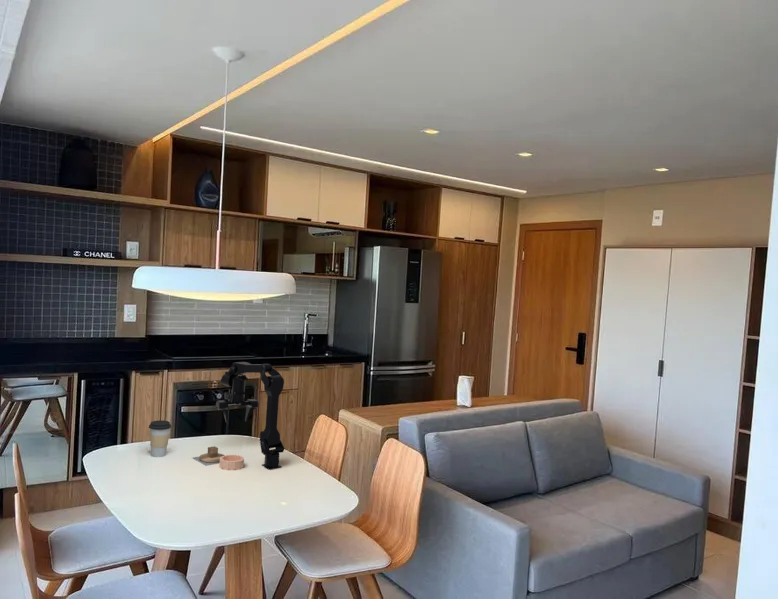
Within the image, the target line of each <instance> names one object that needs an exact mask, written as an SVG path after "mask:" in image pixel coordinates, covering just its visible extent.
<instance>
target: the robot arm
mask: <svg viewBox="0 0 778 599" xmlns="http://www.w3.org/2000/svg"><path fill="white" fill-rule="evenodd" d="M224 372H225V373H224V374H223V375H222V377H221V378H220V382H221V383H220V384H222V385H223V386H226V387H230V388H232V389H231V391H230V392H229V391H225V392H224V394H223V395H224V397H223V398H224V399H223V400H220V399H219V400H216V403H215V408H217V409H219V410H220V411H222V413H223V417H224V420H225V423H226V424H228V421H229V408H228V407H237V406H239V407H240V406H245V409H246V410H245V416H244V418H245V419H244V421H245V422H248V420H249V418H250V416H251V414H252V413H253V411H254V409H255V410H256V408H259V404H260V403H259V401H258V400H257V399H255V398H249V399H246V401H245V395H246V391H245V390H246V389H245V388H246V381H249V378H248V377H247V376H246V375H247V374H250V373H258V374H260V381H261V383H262V384H263V385H264V386H263V388H264V389H263V390H264V392H265V393H266V398H267V401H266V412H265V413H266V415H265V427H264V430H261V431H260V433H259V441H260V442H259V443H260V444H259V446H260V451H261V454H263V455H264V463H263V464H261V466H262V467H264V468H265V469H268V470H274V469H279V468H282V465H281V464H280V453H284V451H285V447H284V445H283V442H282V440H281V433H280V432H279V429H278V416H279V415H278V414H279V400H280V399H279V397H280V395H281V393H282V392H283V390H284V386H285V379H284V377H283V376H282V375H281V373H280V372H279V370H276V369H275V368H273V366H272V364H270V363H261V364H258V363H256V364H255V363H254V364H252V363H250V362H247V361H238V362H232V364H231V366H230V368H229V369H228V371H224ZM266 374H268V375H266Z"/></svg>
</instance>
